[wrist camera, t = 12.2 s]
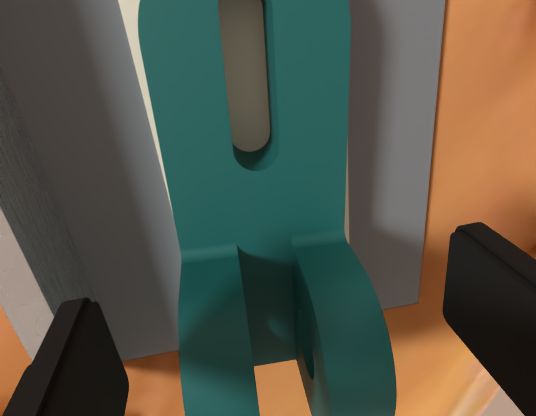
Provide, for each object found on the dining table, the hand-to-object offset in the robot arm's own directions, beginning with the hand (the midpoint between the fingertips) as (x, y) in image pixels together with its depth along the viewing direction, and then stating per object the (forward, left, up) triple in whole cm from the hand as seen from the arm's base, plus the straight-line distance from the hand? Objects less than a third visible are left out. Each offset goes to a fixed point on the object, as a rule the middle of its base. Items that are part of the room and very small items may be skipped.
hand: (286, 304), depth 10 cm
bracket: (0, 0, -8) cm, 8 cm away
